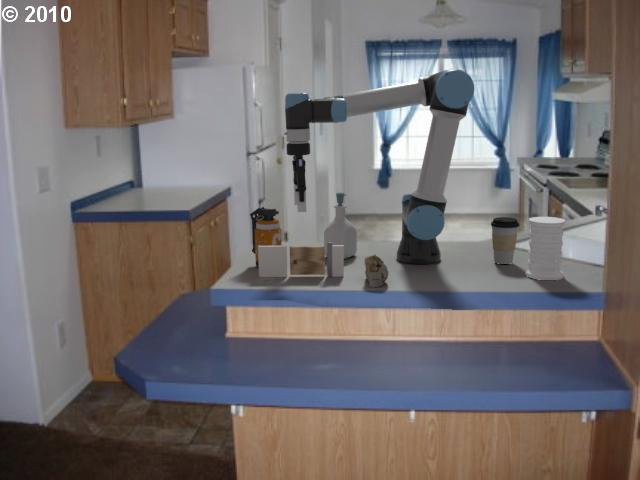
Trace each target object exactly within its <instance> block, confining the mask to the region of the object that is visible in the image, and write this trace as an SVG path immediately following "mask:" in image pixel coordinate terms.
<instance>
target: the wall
mask: <svg viewBox="0 0 640 480" xmlns="http://www.w3.org/2000/svg"><path fill="white" fill-rule="evenodd" d="M287 247H288V246H287V245H282V246H258V261H259V267H258V278H288V250H287V249H288V248H287ZM326 259H327V260H326V265H327V266H326V267H327V269H326V272H327V273H326V274H327V275H326V276H328V278H335V277H337V278H338V277H339V278H340V277H345V275H344V273H345V272H344V271H345V270H344V269H345V266H344V264H345V263H344V260H345V259H344V245H333V242H327V256H326Z"/></svg>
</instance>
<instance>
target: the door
mask: <svg viewBox="0 0 640 480" xmlns="http://www.w3.org/2000/svg"><path fill="white" fill-rule="evenodd" d="M325 258H326V255H325V246H324V245H321V246H318V245H316V246H315V245H314V246H313V245H312V246H305V245H304V246H303V245H302V246H289V272H290V273H289V274H290V276H295V275H296V276H304V275H306V276H307V275H308V276H310V275H312V276H313V275H314V276H316V275H317V276H319V275H321V276H323V275H326V264H325V263H326V259H325Z"/></svg>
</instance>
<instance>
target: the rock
mask: <svg viewBox="0 0 640 480" xmlns="http://www.w3.org/2000/svg"><path fill="white" fill-rule="evenodd" d="M364 266H365V271H364V274H365V278H366V280H367V281H368V283H369V284H368V285H369V287H370V288H379V287H381V286H384V284H385V283H386V281H387V280H388V276H389V270H388V267H387V265H386V264H385V262H384V261H383V260H382V259H381V257H379V256H378V255H377V254H374V255H371V256H370V255H368V256H366V257H365V258H364Z"/></svg>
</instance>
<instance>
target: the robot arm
mask: <svg viewBox="0 0 640 480" xmlns="http://www.w3.org/2000/svg"><path fill="white" fill-rule="evenodd" d="M474 83H475V82H474V80H473V79H472V77H471V75H469V74H468V73H467V71H464V70H462V69H459V68H449V69H443V70H441V71H439V72H435V73H433V74H431V75H427V76H421V77H420V78H419V79H418V80H416V81H412V82H406V83H400V84H395V85H390V86H384V87H379V88H377V87H376V88H373V89H368V90H362V91H357V92H350V93H345V94H341V95H336V96H327V97H324V98H310V96H309V93H307V92H289V93H286V95H285V97H284V112H285V129H286V130H285V131H284V132H283V135H284V136H286V138H285V139H286V142H287V143H286V155H287V156H290V157H291V156H293V157H292V158H293V160H292V162H291V163H292V171H293V179H292V181H293V194H294V195H293V197H294V199H293V200H294V206H297V208H296V209H297V212H298V213H306V212H307V191H306V190H307V185H306V184H307V183H306V160H305V159H304V157H303V156H309V155H310V154H311V143H310V141H311V128H310V127H311V126H310V124H330V123H335V124H337V123H345V122H346V121H347V120H348V118H350V117H356V116H361V115H367V114H373V113H374V114H375V113H379V112H384V111H390V110H396V109H401V108H407V107H412V106H418V105H422V106H423V107H429V111H430V114H431V115H432V118H431V123H430V128H429V131H428V136H427V137H428V138H427V142H426V147H425V151H424V155H423V160H422V165H421V170H420V174H419V178H418V183H417V188H416V190H414V191H413V192H411V193H405V194H403V196H402V199H401V200H402V201H401V204H402V207H401V208H402V209H401V211H402V213H401V214H402V216H401V238H400V242H399V244H398V248H397V251H396V260H397V261H398V262H401V263H404V264H411V265H412V264H414V265H428V264H429V263H430V264H435V263H438V262H440V261H441V260H440V259H441V255H442V254H441V250H440V247H439V243H438V240H437V237H439V235H441V233H442V232H443V230H444V228H445V223H446V222H445V220H446V219H445V211H446V206H447V202H448V200H447V199H446V197H445V195H444V194H445V189H446V185H447V179H448V176H449V172H450V171H449V170H450V167H451V163H452V158H453V155H454V154H453V153H454V149H455V148H454V147H455V145H456V140H457V135H458V130H459V126H460V121H461V120H463V119H465V118H466V117H467V112H468V108H469V104H470V102H471V101H472V99H473V97H474V94H475V84H474ZM439 260H440V261H439ZM437 261H438V262H437ZM434 262H435V263H434Z"/></svg>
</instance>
